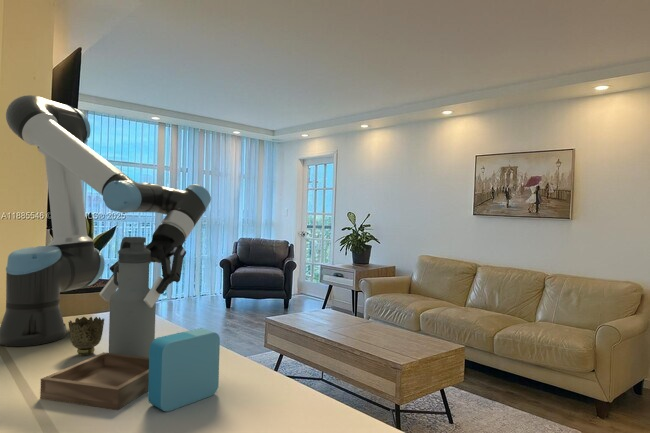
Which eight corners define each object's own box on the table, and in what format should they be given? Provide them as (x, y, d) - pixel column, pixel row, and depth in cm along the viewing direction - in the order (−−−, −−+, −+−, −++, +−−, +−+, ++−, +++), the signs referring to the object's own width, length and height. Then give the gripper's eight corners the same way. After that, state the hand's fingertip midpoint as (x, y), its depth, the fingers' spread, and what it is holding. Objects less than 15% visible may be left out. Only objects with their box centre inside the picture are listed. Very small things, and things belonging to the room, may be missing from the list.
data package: (204, 387, 88) (206, 326, 88) (218, 393, 85) (220, 331, 85) (147, 406, 78) (149, 338, 78) (161, 414, 76) (163, 344, 76)
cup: (88, 360, 101) (89, 325, 101) (60, 357, 102) (61, 322, 102) (110, 350, 108) (111, 317, 108) (83, 347, 110) (84, 315, 109)
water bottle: (102, 355, 104) (105, 236, 104) (145, 348, 111) (148, 235, 110) (115, 368, 96) (119, 238, 96) (160, 359, 103) (164, 238, 103)
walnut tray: (103, 368, 96) (103, 352, 96) (169, 377, 92) (170, 360, 92) (40, 398, 80) (40, 378, 80) (117, 409, 77) (117, 389, 77)
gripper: (218, 244, 113) (176, 316, 99) (143, 239, 122) (94, 304, 108) (206, 224, 108) (159, 296, 94) (128, 220, 117) (75, 285, 103)
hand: (124, 301), depth 101 cm, fingers open, 12 cm apart
